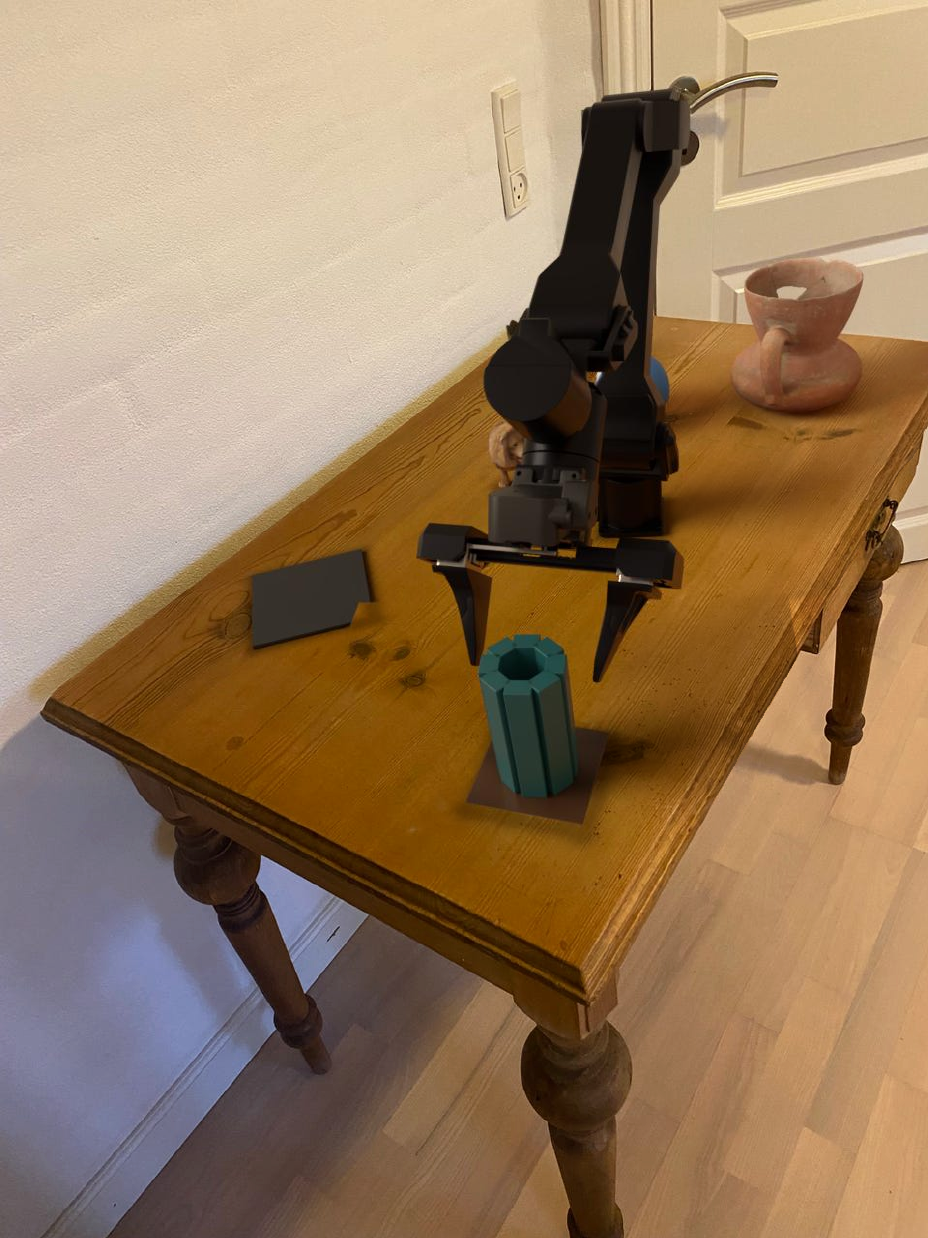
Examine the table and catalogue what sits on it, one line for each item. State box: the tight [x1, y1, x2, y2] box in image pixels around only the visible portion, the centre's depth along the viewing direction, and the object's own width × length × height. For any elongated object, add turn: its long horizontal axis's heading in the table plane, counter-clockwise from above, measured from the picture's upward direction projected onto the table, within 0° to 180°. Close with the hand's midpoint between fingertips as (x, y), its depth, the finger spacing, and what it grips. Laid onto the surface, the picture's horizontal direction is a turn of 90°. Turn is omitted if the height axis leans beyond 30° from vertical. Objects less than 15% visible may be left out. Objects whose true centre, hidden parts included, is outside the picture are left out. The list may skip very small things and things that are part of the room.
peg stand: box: [465, 726, 610, 826], centre depth 67 cm, size 9×9×6 cm
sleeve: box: [477, 633, 579, 798], centre depth 65 cm, size 6×6×11 cm
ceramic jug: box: [729, 257, 864, 413], centre depth 101 cm, size 18×14×14 cm
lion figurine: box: [487, 421, 524, 489], centre depth 100 cm, size 15×5×9 cm, turn 163°
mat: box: [251, 548, 372, 650], centre depth 91 cm, size 12×12×1 cm
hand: (534, 673), depth 64 cm, fingers open, 9 cm apart
